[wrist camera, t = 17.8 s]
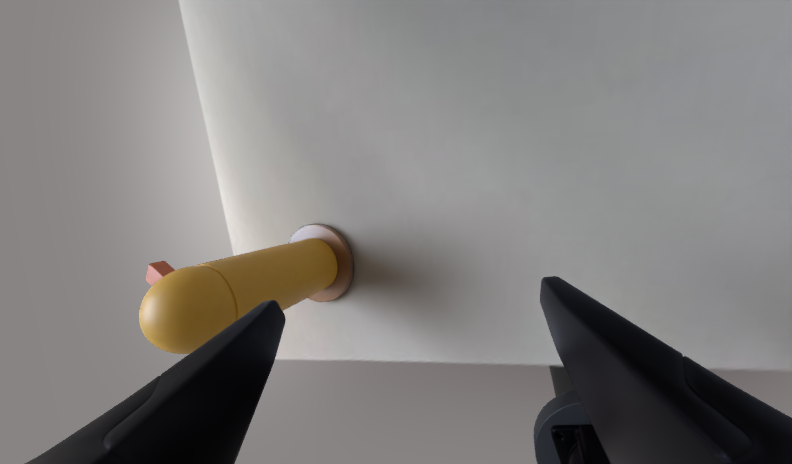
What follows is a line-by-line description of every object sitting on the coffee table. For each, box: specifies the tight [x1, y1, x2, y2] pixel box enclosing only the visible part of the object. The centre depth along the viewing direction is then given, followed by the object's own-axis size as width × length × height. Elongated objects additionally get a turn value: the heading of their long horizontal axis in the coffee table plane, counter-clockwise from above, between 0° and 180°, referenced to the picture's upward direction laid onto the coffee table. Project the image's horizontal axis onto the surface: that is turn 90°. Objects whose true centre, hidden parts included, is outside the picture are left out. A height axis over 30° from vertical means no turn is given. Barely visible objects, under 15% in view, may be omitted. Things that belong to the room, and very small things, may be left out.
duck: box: [139, 238, 338, 354], centre depth 19 cm, size 6×5×12 cm
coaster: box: [288, 224, 354, 302], centre depth 25 cm, size 7×7×1 cm
